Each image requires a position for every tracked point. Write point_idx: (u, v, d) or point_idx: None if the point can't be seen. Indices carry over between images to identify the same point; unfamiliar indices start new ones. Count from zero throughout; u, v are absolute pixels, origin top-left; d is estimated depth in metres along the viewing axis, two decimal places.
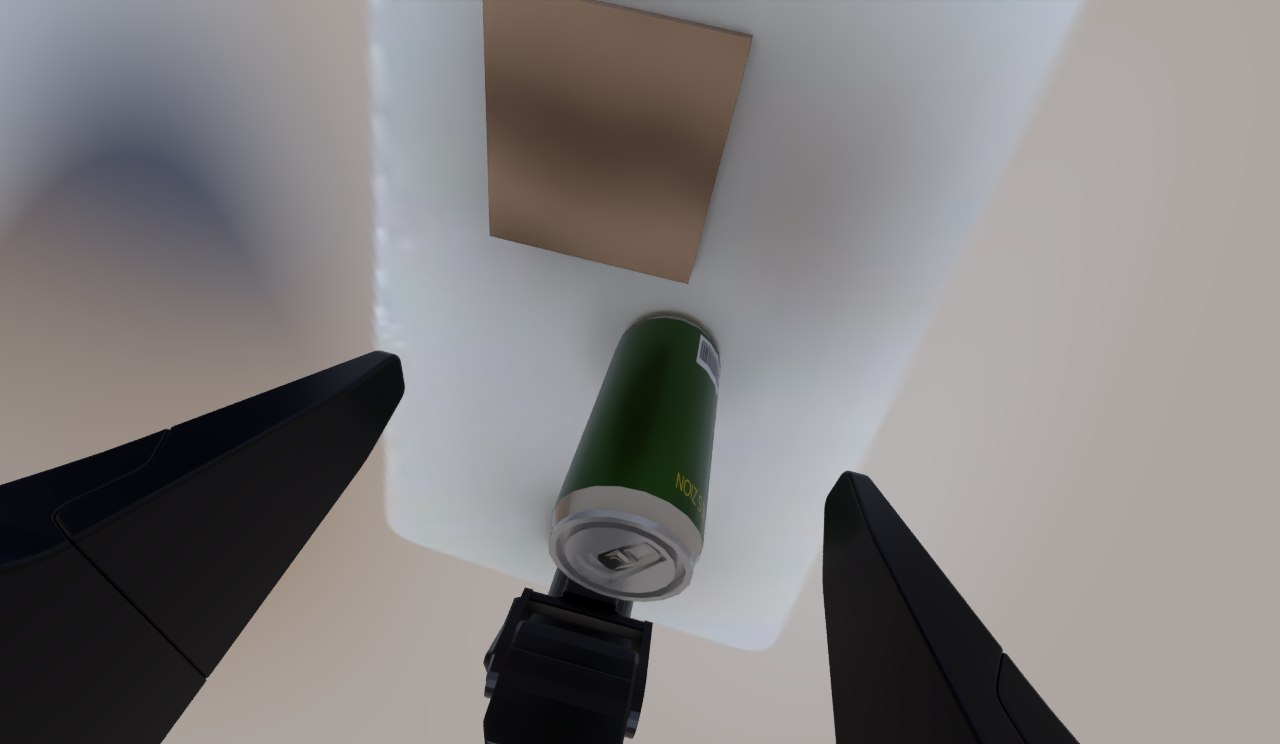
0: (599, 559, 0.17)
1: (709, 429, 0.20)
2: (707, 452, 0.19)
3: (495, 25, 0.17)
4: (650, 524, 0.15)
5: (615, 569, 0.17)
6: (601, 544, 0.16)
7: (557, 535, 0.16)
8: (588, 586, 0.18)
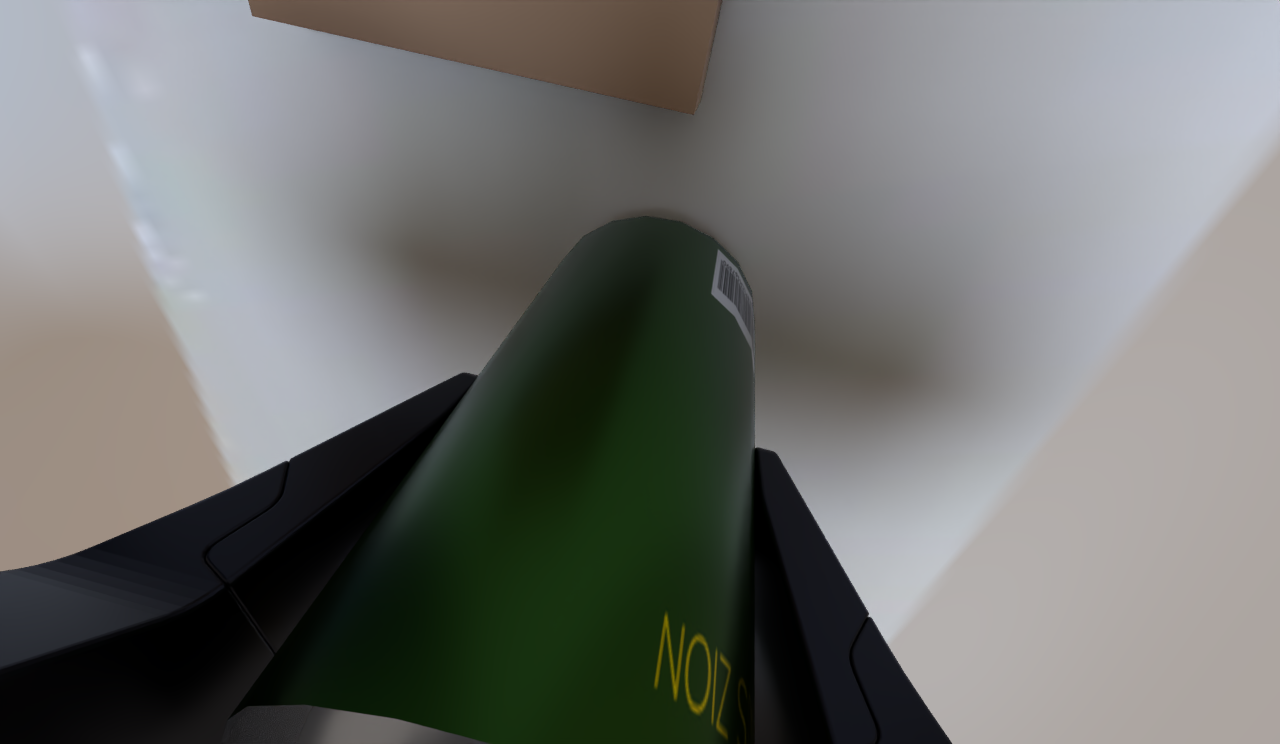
0: None
1: (748, 448, 0.08)
2: (749, 513, 0.07)
3: None
4: None
5: None
6: None
7: None
8: None
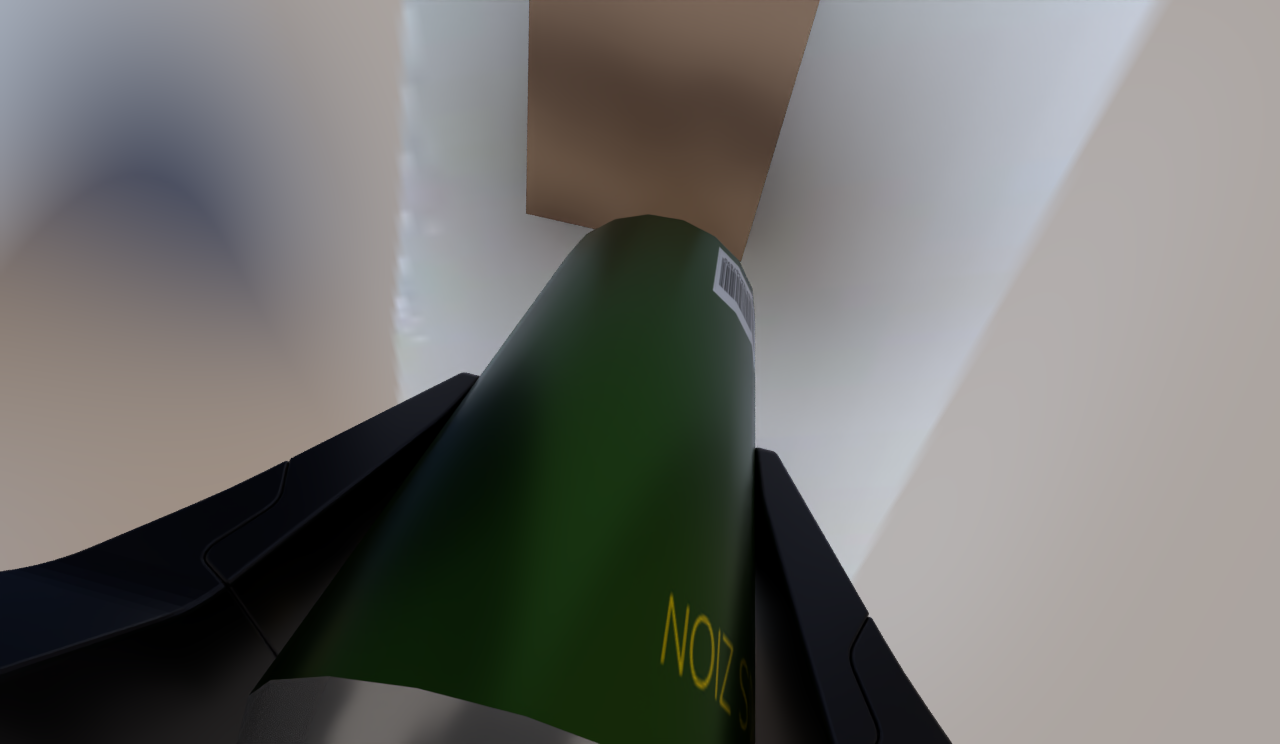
0: None
1: (749, 441, 0.08)
2: (750, 503, 0.07)
3: None
4: None
5: None
6: None
7: None
8: None
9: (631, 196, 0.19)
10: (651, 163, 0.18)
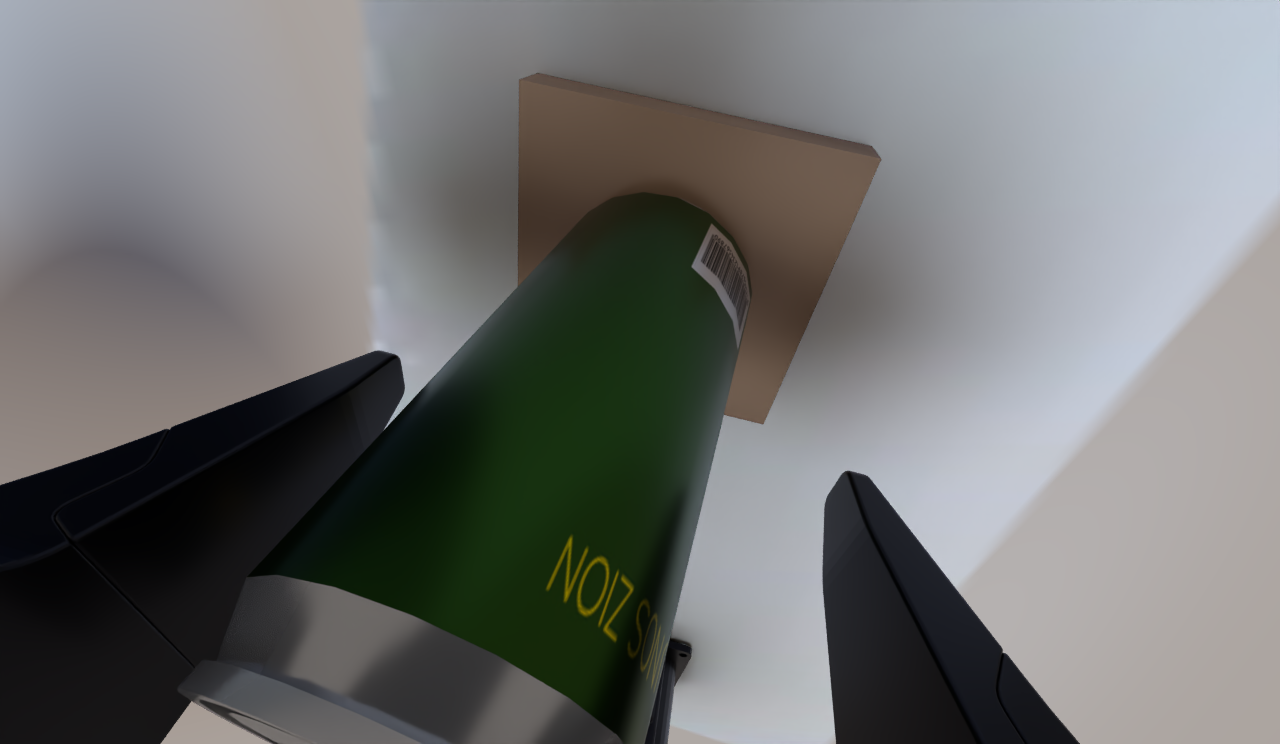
0: None
1: (705, 411, 0.08)
2: (691, 468, 0.08)
3: (534, 134, 0.13)
4: None
5: None
6: None
7: (200, 704, 0.05)
8: None
9: None
10: None
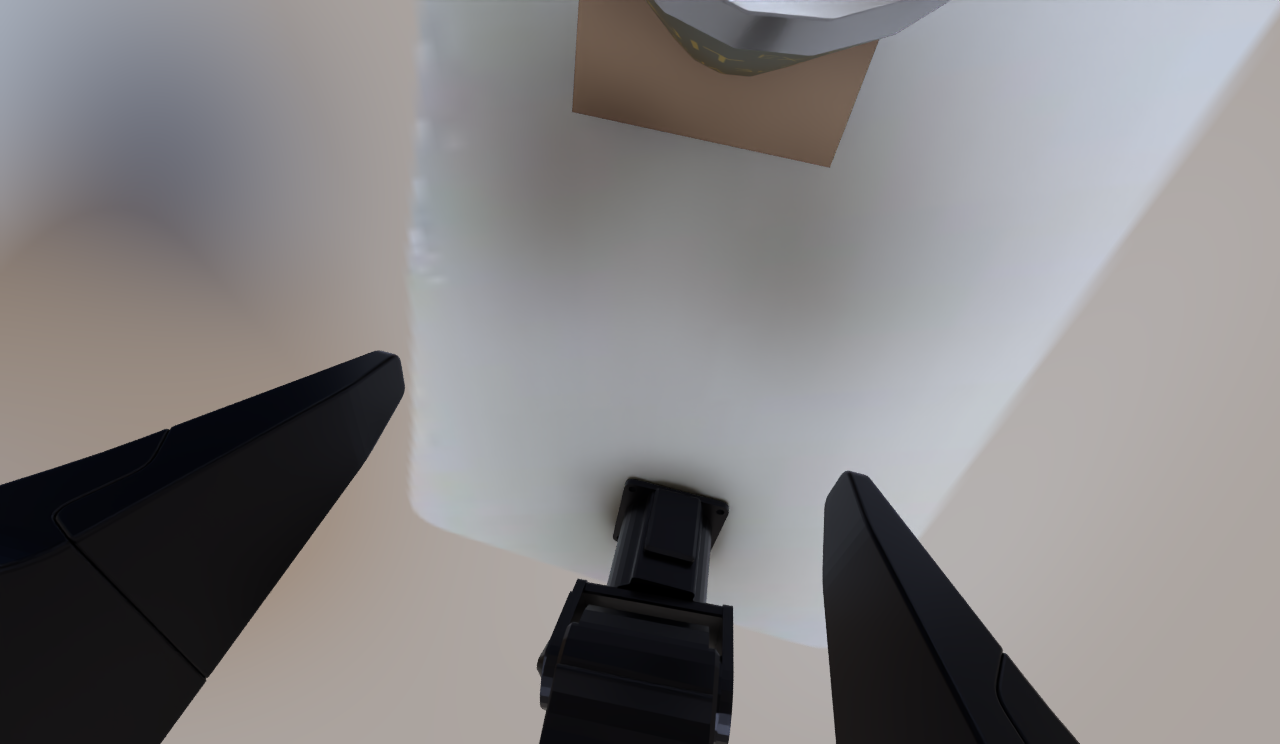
0: None
1: None
2: None
3: None
4: None
5: None
6: None
7: None
8: None
9: (702, 84, 0.16)
10: None
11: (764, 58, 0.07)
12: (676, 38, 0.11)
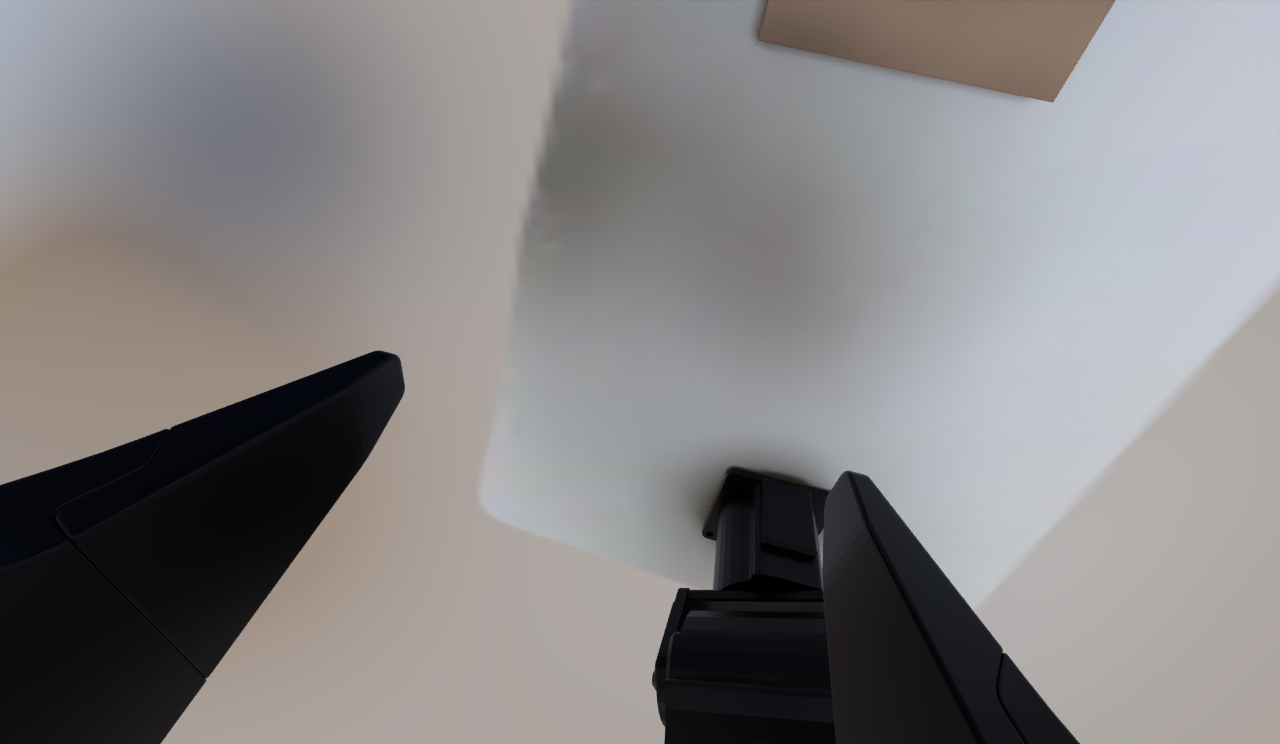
0: None
1: None
2: None
3: None
4: None
5: None
6: None
7: None
8: None
9: (922, 4, 0.14)
10: None
11: None
12: None
